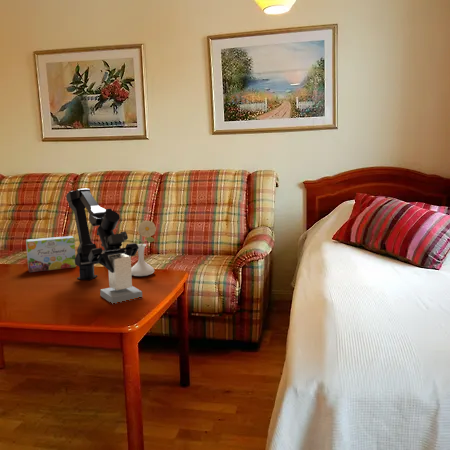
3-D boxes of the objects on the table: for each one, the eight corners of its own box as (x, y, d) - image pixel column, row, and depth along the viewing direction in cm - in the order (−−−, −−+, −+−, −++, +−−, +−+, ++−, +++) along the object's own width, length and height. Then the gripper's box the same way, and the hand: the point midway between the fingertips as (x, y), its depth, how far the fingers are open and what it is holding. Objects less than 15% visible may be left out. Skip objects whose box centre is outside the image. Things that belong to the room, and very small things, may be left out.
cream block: (109, 286, 170) (107, 255, 168) (124, 283, 174) (123, 253, 172) (116, 290, 165) (114, 259, 163) (132, 287, 169) (130, 256, 167)
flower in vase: (126, 278, 195) (123, 222, 191) (132, 271, 206) (130, 218, 203) (155, 278, 195) (153, 222, 191) (160, 271, 206) (158, 218, 202)
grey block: (100, 296, 171) (100, 289, 171) (129, 291, 178) (129, 284, 178) (112, 305, 162) (112, 297, 161) (142, 298, 169) (142, 291, 168)
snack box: (29, 273, 206) (26, 241, 204) (28, 270, 211) (25, 239, 209) (76, 267, 216) (74, 236, 213) (74, 264, 221) (72, 235, 218)
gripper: (89, 227, 163) (103, 262, 156) (135, 222, 174) (150, 255, 168) (82, 245, 170) (95, 279, 164) (127, 239, 182) (141, 270, 175)
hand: (121, 270), depth 167 cm, fingers closed on cream block, 6 cm apart
